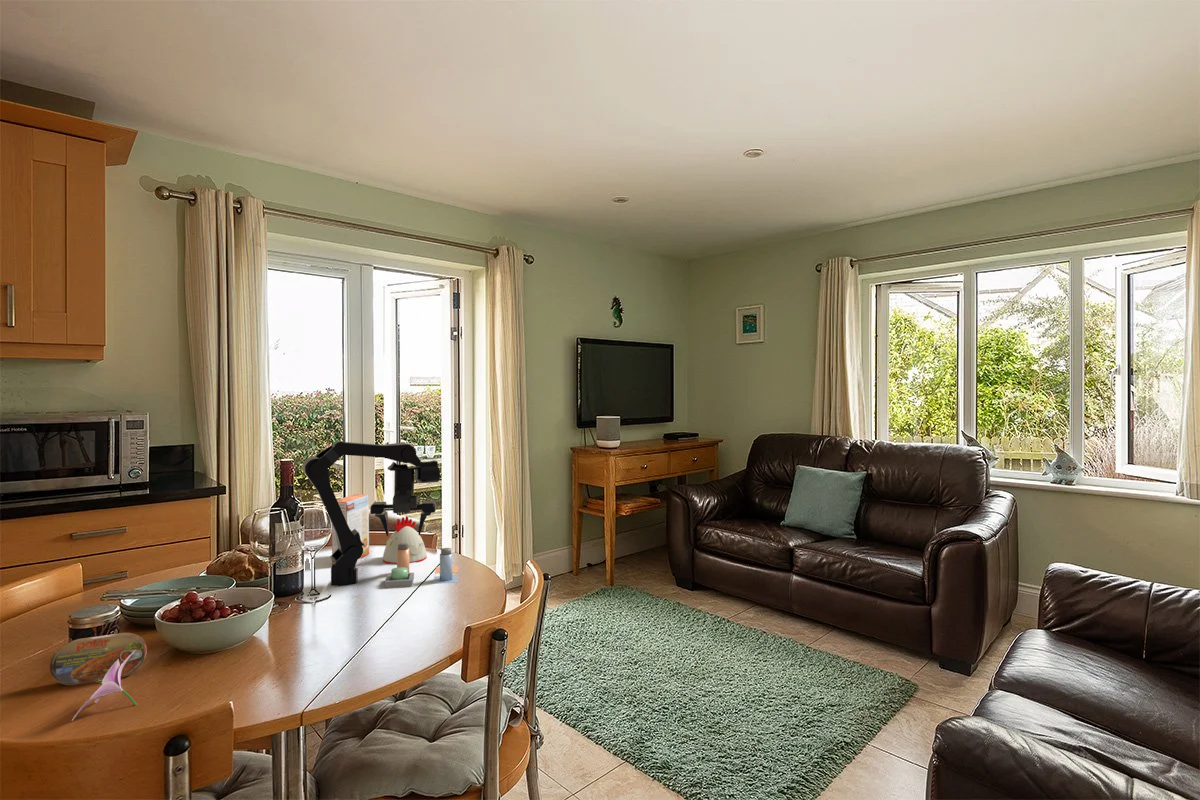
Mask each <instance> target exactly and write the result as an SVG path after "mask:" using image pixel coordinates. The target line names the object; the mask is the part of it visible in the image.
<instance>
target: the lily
mask: <svg viewBox="0 0 1200 800" xmlns="http://www.w3.org/2000/svg"><path fill="white" fill-rule="evenodd" d="M134 652H135V651H134ZM134 652H133V653H134ZM133 653H132V654H133ZM132 654H130V655H129V657H128V658H127V659H126V660H125V661H124V662H123V663H122V664H121V665H120V664H119V659H118V660H117V661H116V662H115V663H114V664H113V665H112V667H111V668H110V669H109V670H108V672H107V673H106V675H105V676H104V678H103V681H102V680H99V679H98V680H99V681H98V682H99V683H101V685H100V687H98V688H97V690H96V691H95V692H94V693H93V694H92V695H91V696H90V698H89V699H88V700H86V701H85V703H84V704H83V705H82V706H80V708H79V709H78V711H77V712H76V714H75V715H74V716H73V718H72V720H71V721H74V720H75V718H76V717H77V716H78V714H79V713H80V712H81V711H82V710H83V709H84V708H85V707H86V706H87V705H88V704H89V703H90V702H92V701H93V700H94V699H95V700H94V703H96V704H97V703H98V702H99V701H100V699H101V698H103V697H105V696H108V695H111V694H114V693H116V692H121V693H123V694H124V695H125V696H126V697H128V698H129V700H130V701H131V702H132V704H133V705H134V706H137V702H136V701H135V700H134V699H133V697H132V696H131V695H130V694H128V693H127V691H125V690H124V689H123V688H122V686H121V682H122V680H121V679H122V678H121V672H122V669H123V667H124V665H125V663H126V662H127V660H128V659H129V658H130V657H131V655H132ZM100 679H101V678H100Z"/></svg>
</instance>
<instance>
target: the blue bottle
mask: <svg viewBox="0 0 1200 800" xmlns="http://www.w3.org/2000/svg"><path fill="white" fill-rule="evenodd" d="M452 566H453V552H452V548H451V547H442V548H441V549H440V553H439V567H440V573H439V576H440V581H450V580H452V576H453V573H452Z"/></svg>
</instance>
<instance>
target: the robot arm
mask: <svg viewBox="0 0 1200 800" xmlns="http://www.w3.org/2000/svg"><path fill="white" fill-rule="evenodd" d="M343 456H356V457H368V458H371V457H372V458H382V459H383V458H384V459H387V460H391V461H393V462H392V463H391V464H390V465H389V466H387V471H388V470H389V471H390V472H394V475H393V476H394V477H393V478H394V479H393V481H394V483H393V484H394V485H393V486H394V488H393V489H394V491H393V493H394V495H393V498H392V503H391V504H387V501H374V502H373V503H372V504H371V505H370V508H369V514H370V515H374V517H376V518H379V520H380V521H381V523H382V526H383V528H384V529H383V530H384V532H385V535H386V537H390V536H389V533H390V526H389V514H388V511H392V513H393V514H400V513H402V514H409V513H410V512H411V511H421V513H420V518H419V523H418V531H417V532H418V535H420V536H421V533H422V529H423V526H424V524H425V521H426V519H427V517H428V516H431V515H432V514H433V513H434V514H435V513H436V509H437V503H436V500H423V501H422V502H421V503H418V496H417V495H415V481H417V482H418V483H419V484H432V483H434V484H435V483H438V482H440V479H441V471H440V467H439V464H438V461H437V460H430V461H429V460H428V461H422V460H421V459H420V458H419V457H418V455H417V450H416V448H415V447H414V446H413V444H409V443H405V442H396V443H388V444H377V443H376V444H375V443H361V442H352V441H351V442H350V441H342V440H337V441H336V440H335V441H334V442H333V443H332V444H331V445H330V446H328V447H326V448H325V449H323V450H322V451H320V452H319V453H318V454H316V455H315V456H309V457H308V458H306V459H304V460H303V463H302V464H301V465H302V466H301V468H302V471H303V473H304V474H305V476H306V477H307V478H308V480H309V482H311V484H312V486H313V487H314V489H315V490H316V492H317V493H318V496H319V499H320V500H321V503H322V506H323V507H324V506H326V507H325V508H324V509H326V510H327V512H328V514H327V516H328V515H329V516H328V519H329V518H330V519H329V520H330V523H331V526H332V525H333V528H334V530H335V533H336V540H337V545H338V549H337V550H336V551H335V552H334V553H333V554H332V553H331V555H330V559H331V563H332V562H333V563H334V564H332V565H331V566H330V586H335V587H347V586H350V585H356V584H357V583H358V581H359V568H357V565H356V564H357V562H358V560H359V558H360V557H361V556H362V554H363V547H362V546H364V544H363V543H362V541H361V539H360V535H359V532H358V531H357V530H356V529H354V530H352V531H351V530H350V528H349V526H348V524H347V522H346V519H345V517H344V515H343V513H342V510H341V508H340V506H339V504H338V501H337V500H338V499H337V497H336V494H335V492H334V490H333V488H332V485H331V478H330V473H329V468H331V467H332V466H333V465H334V464H336V462H337V461H339V459H341V457H343ZM394 461H395V462H394ZM396 462H399V464H397V463H396ZM401 463H402V464H401ZM408 464H410V465H412V466H408ZM326 510H325V511H326ZM327 512H326V513H327ZM360 559H361V558H360Z"/></svg>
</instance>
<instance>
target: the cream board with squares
mask: <svg viewBox="0 0 1200 800" xmlns="http://www.w3.org/2000/svg"><path fill="white" fill-rule="evenodd" d="M453 573H459V565H452V574H453ZM434 574H435V576H434V579H433V584H434V585H435V584H453V583H459V582H458V581H459V579H458V578H459V575H458V574H456V575H454V574H453V575H452V580H450V581H440V575H439V576H438V575H437V576H436V574H440V566H435V573H434ZM414 580H415V572H409V573H408V579H406V580H391V573H388V574H387V575H386V578H385V579H384V589H394V588H409V587H413V584H414Z"/></svg>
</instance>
